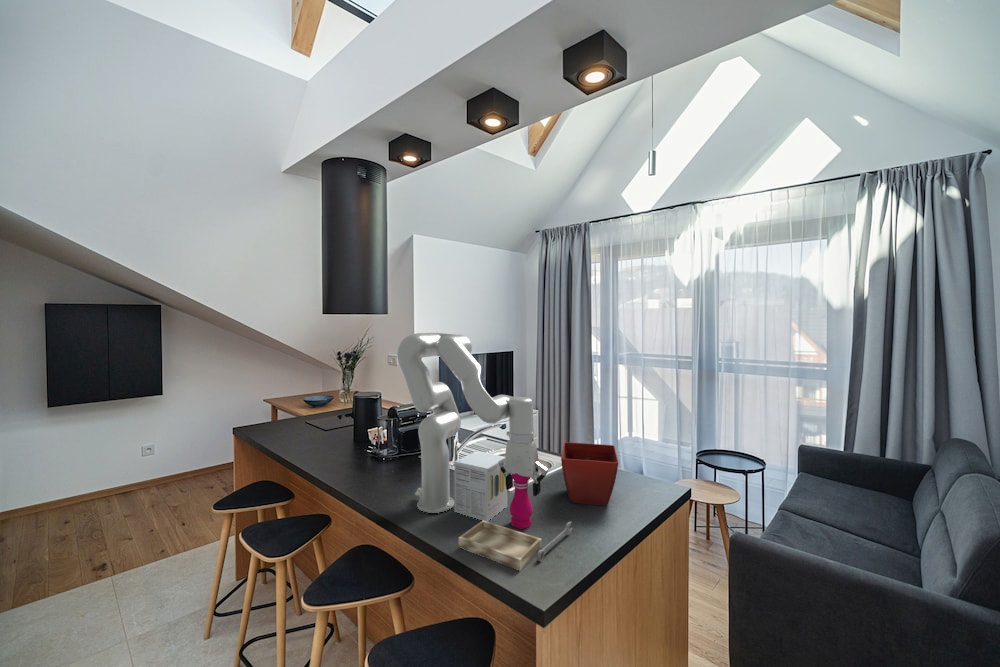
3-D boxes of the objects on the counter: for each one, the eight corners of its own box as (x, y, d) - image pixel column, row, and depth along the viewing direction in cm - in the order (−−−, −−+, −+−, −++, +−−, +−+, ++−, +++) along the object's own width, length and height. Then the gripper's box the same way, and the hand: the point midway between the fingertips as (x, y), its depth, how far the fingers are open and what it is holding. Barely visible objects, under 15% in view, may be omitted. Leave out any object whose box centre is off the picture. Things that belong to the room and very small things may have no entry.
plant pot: (618, 511, 139) (618, 462, 138) (560, 506, 142) (560, 458, 142) (614, 488, 157) (614, 444, 157) (563, 484, 161) (563, 441, 160)
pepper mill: (504, 523, 131) (504, 461, 130) (520, 516, 136) (520, 455, 135) (521, 532, 125) (521, 466, 125) (537, 523, 130) (537, 461, 130)
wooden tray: (458, 548, 117) (458, 537, 117) (483, 529, 127) (482, 520, 127) (520, 571, 106) (520, 559, 106) (541, 549, 116) (541, 538, 116)
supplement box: (487, 523, 131) (486, 468, 130) (453, 513, 138) (453, 461, 137) (508, 507, 142) (508, 456, 142) (476, 498, 149) (476, 450, 148)
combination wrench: (539, 552, 109) (574, 520, 125) (535, 550, 110) (570, 519, 126) (539, 565, 109) (574, 532, 125) (535, 564, 110) (571, 531, 126)
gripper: (491, 436, 131) (493, 490, 131) (540, 444, 122) (542, 501, 122) (504, 431, 137) (505, 482, 138) (552, 437, 128) (553, 492, 128)
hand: (522, 491), depth 130 cm, fingers open, 9 cm apart
